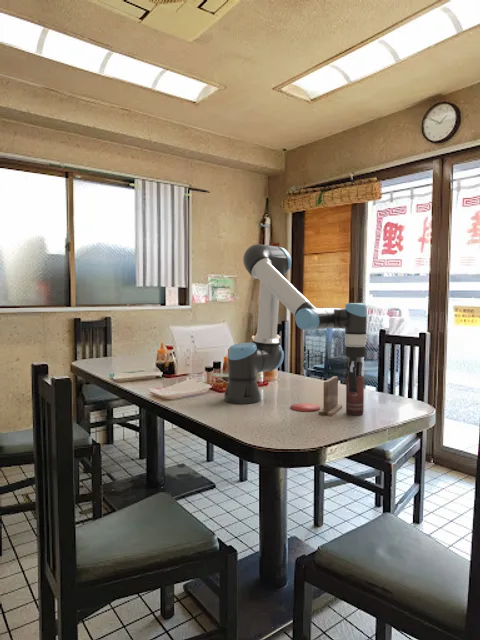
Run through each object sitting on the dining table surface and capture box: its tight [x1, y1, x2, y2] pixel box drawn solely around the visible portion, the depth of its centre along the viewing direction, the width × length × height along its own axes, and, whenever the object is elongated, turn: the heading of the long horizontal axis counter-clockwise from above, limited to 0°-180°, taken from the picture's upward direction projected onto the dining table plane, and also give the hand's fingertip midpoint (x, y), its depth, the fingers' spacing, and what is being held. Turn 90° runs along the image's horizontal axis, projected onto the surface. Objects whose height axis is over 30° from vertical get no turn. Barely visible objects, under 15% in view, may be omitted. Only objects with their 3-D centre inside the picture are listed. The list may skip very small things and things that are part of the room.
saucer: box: [290, 402, 321, 413], centre depth 171 cm, size 11×11×1 cm
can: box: [345, 374, 365, 417], centre depth 162 cm, size 6×6×14 cm
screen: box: [318, 375, 343, 417], centre depth 166 cm, size 5×14×12 cm, turn 153°
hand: (354, 410), depth 162 cm, fingers closed
